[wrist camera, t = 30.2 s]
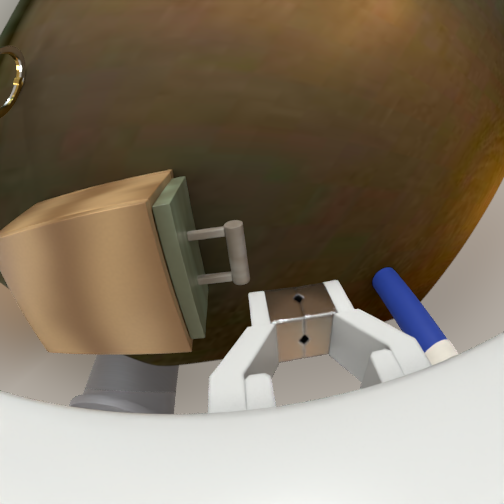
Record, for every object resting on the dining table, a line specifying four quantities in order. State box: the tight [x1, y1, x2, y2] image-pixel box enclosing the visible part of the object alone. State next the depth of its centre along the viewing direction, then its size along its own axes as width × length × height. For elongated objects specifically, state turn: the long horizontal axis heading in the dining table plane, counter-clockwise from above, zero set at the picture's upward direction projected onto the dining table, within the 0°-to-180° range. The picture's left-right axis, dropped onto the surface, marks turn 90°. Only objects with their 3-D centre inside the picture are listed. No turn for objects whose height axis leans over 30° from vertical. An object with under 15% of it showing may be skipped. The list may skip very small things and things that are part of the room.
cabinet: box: [0, 169, 193, 355], centre depth 22 cm, size 16×13×9 cm
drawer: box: [151, 176, 250, 339], centre depth 22 cm, size 19×11×7 cm, turn 96°
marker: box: [373, 267, 458, 365], centre depth 24 cm, size 3×3×14 cm
